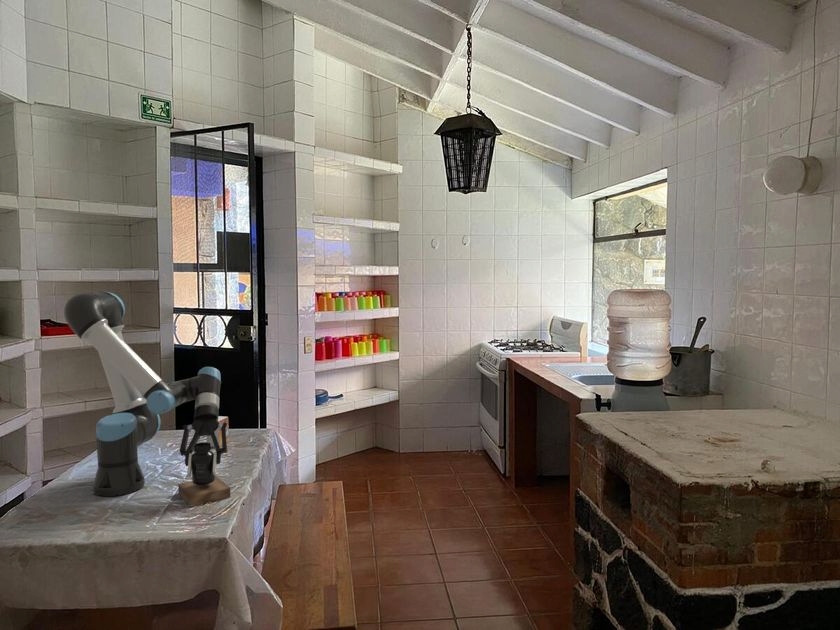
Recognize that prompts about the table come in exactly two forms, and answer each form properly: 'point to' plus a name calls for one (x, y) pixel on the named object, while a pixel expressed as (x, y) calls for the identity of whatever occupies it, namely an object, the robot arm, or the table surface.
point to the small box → (219, 432)
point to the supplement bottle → (202, 464)
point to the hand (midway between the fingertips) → (201, 473)
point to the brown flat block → (204, 492)
